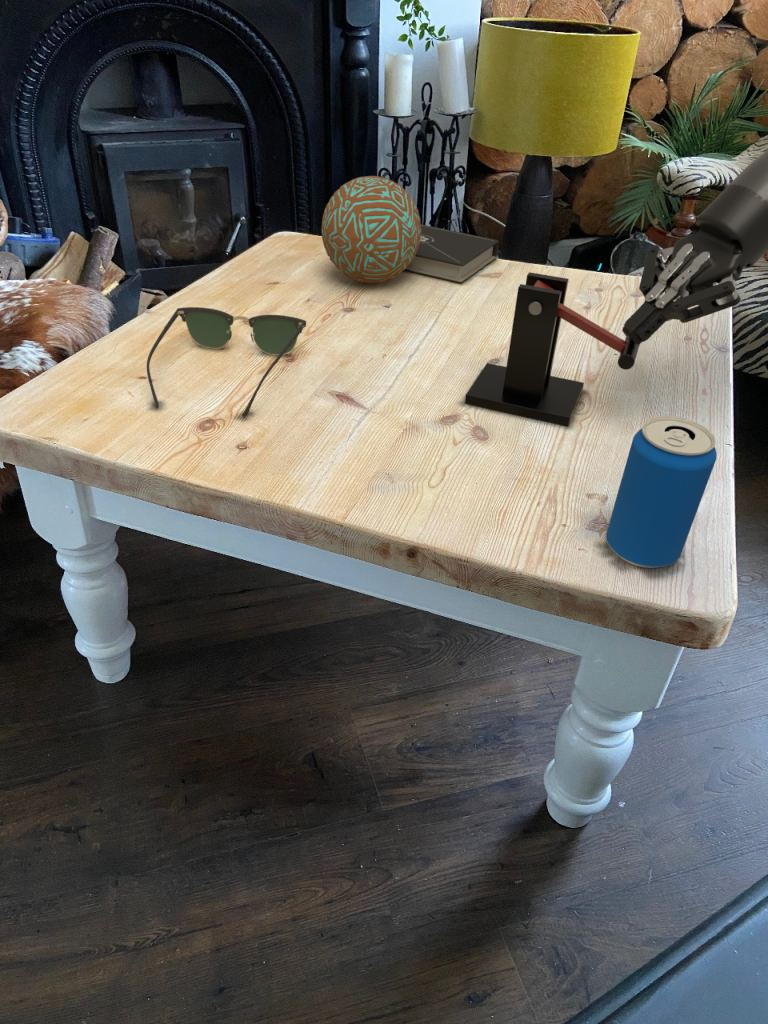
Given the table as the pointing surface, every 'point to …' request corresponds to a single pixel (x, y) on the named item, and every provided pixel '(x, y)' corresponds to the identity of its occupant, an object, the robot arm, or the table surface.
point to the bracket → (530, 360)
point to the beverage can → (661, 490)
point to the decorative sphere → (371, 229)
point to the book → (452, 254)
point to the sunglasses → (216, 332)
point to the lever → (599, 333)
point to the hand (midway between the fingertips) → (629, 337)
